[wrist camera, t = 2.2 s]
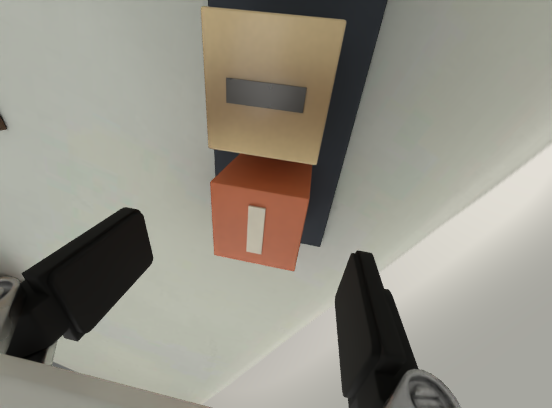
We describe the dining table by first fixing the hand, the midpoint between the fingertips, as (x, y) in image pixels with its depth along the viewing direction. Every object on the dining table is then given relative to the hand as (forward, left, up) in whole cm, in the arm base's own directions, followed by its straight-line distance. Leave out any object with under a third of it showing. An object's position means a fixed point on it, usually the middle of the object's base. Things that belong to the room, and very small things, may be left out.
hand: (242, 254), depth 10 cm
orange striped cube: (0, 0, -6) cm, 6 cm away
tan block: (-6, 0, -6) cm, 9 cm away
